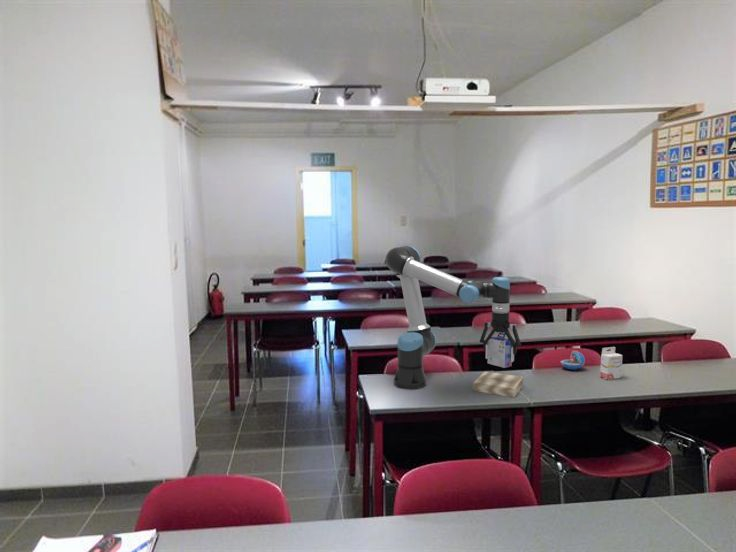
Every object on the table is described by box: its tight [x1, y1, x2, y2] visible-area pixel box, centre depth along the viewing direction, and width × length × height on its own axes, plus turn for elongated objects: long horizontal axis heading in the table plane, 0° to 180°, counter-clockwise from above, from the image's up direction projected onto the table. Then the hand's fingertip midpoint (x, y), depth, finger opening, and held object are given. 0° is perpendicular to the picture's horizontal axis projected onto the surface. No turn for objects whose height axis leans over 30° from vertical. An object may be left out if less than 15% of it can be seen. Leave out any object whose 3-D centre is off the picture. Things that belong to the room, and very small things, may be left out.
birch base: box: [473, 371, 524, 398], centre depth 223 cm, size 18×18×4 cm
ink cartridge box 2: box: [599, 346, 623, 380], centre depth 236 cm, size 9×5×15 cm, turn 108°
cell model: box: [560, 350, 586, 371], centre depth 250 cm, size 10×12×10 cm
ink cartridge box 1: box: [487, 332, 513, 369], centre depth 221 cm, size 10×6×14 cm, turn 38°
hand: (499, 359), depth 222 cm, fingers closed on ink cartridge box 1, 11 cm apart
